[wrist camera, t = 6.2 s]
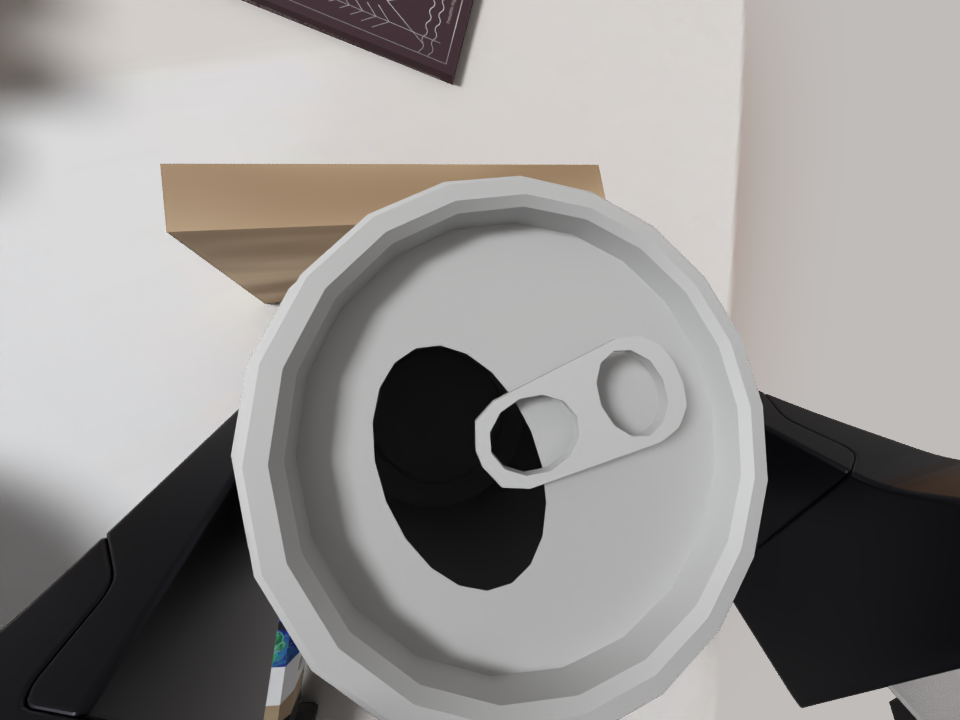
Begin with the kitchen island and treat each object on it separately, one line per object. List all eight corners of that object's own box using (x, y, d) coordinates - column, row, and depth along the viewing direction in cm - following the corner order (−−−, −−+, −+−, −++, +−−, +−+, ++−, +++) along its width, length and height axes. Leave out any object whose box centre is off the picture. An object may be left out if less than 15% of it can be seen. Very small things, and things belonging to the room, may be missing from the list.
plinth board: (535, 279, 19) (608, 214, 13) (264, 303, 16) (166, 232, 9) (529, 246, 20) (598, 164, 13) (260, 262, 16) (160, 163, 9)
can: (321, 366, 14) (-12, 192, 3) (480, 309, 16) (677, 68, 5) (387, 534, 14) (331, 1135, 2) (541, 455, 16) (912, 579, 4)
